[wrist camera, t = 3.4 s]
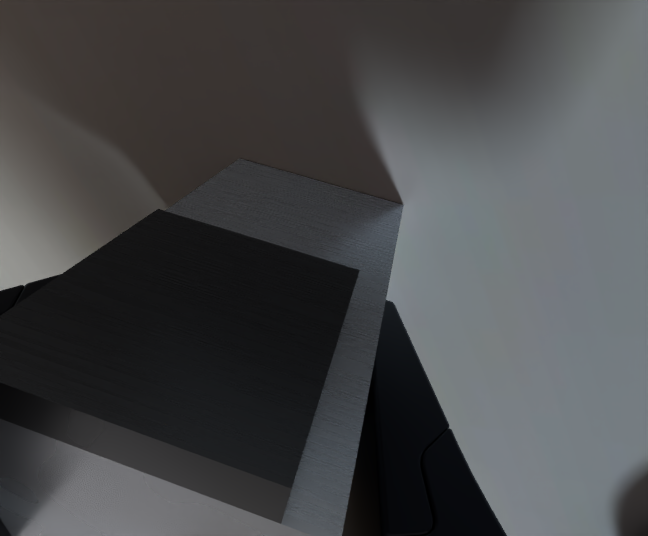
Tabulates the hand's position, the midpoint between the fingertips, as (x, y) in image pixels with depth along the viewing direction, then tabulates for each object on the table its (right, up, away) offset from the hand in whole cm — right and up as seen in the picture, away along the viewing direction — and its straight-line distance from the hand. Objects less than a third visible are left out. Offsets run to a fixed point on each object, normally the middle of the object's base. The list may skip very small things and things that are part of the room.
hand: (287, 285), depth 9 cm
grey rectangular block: (0, +1, +1) cm, 2 cm away
